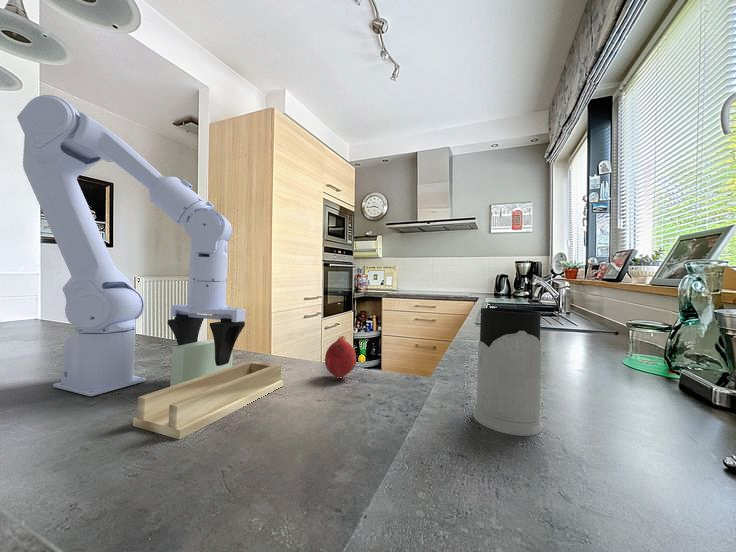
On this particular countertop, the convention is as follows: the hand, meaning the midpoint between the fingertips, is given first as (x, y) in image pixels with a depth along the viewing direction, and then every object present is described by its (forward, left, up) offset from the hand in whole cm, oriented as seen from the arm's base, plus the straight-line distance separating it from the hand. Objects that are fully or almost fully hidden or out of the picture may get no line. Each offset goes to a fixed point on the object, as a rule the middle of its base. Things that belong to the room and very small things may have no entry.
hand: (204, 361), depth 52 cm
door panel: (0, 0, -4) cm, 4 cm away
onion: (+19, +12, -4) cm, 23 cm away
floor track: (+9, -5, -4) cm, 11 cm away
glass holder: (+46, +9, -4) cm, 48 cm away
